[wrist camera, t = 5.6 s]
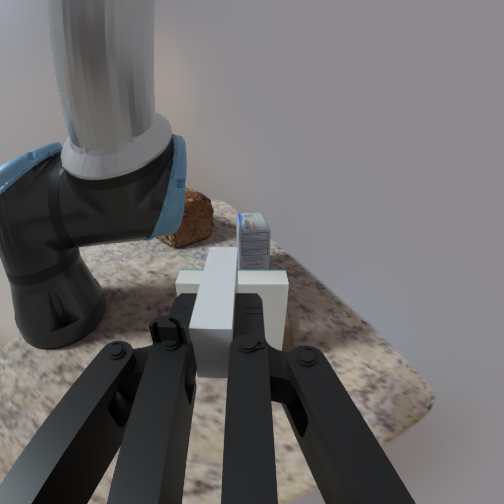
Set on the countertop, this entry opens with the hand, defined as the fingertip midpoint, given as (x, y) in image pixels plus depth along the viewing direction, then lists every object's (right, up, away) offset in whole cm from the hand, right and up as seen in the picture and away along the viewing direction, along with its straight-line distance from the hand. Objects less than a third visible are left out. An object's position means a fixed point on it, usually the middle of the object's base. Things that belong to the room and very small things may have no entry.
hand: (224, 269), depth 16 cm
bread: (-16, +5, +46) cm, 49 cm away
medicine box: (+1, -2, +31) cm, 31 cm away
